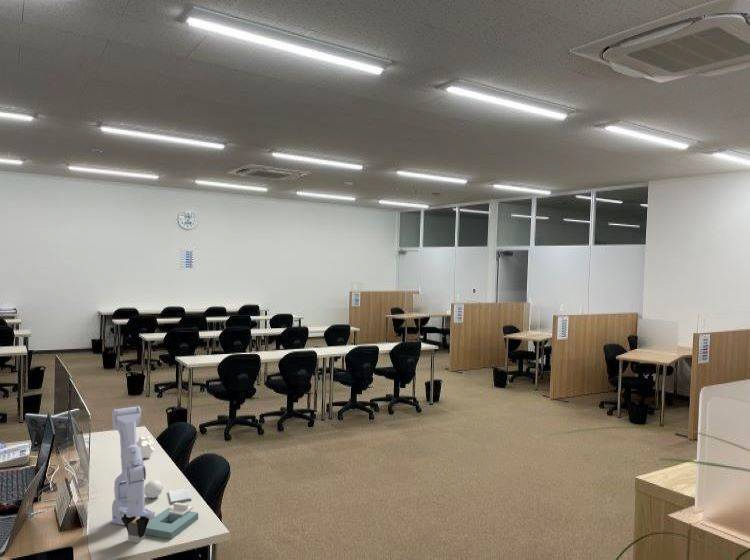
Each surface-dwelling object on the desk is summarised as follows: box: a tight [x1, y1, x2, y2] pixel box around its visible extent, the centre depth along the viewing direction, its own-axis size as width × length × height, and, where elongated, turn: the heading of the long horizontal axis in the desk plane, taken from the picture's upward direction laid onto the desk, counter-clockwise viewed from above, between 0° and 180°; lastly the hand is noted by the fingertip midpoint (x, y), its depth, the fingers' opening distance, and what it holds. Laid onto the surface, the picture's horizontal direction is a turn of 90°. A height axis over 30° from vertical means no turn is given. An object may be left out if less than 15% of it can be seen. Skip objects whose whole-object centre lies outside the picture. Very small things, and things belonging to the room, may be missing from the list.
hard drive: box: [167, 486, 192, 505], centre depth 232 cm, size 2×8×12 cm
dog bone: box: [137, 435, 155, 460], centre depth 282 cm, size 15×9×8 cm, turn 26°
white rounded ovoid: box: [144, 479, 164, 499], centre depth 233 cm, size 10×7×7 cm
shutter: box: [169, 502, 194, 516], centre depth 213 cm, size 6×6×3 cm
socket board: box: [145, 507, 199, 540], centre depth 207 cm, size 14×16×2 cm
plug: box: [127, 519, 146, 544], centre depth 197 cm, size 4×4×7 cm
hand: (136, 535), depth 197 cm, fingers closed on plug, 4 cm apart
